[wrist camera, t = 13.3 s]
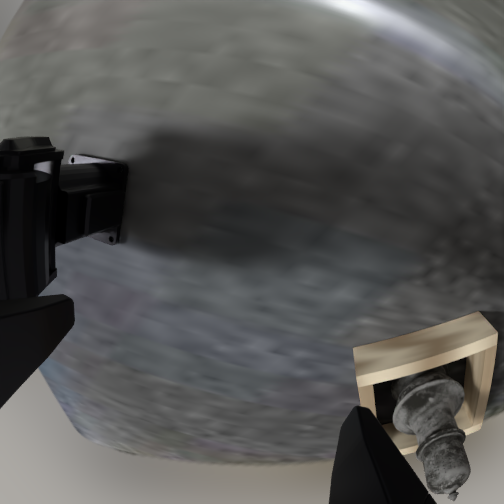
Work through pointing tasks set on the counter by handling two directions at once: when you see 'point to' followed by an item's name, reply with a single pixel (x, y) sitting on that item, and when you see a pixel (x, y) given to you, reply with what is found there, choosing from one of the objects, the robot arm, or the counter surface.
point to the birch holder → (430, 356)
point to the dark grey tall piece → (434, 426)
